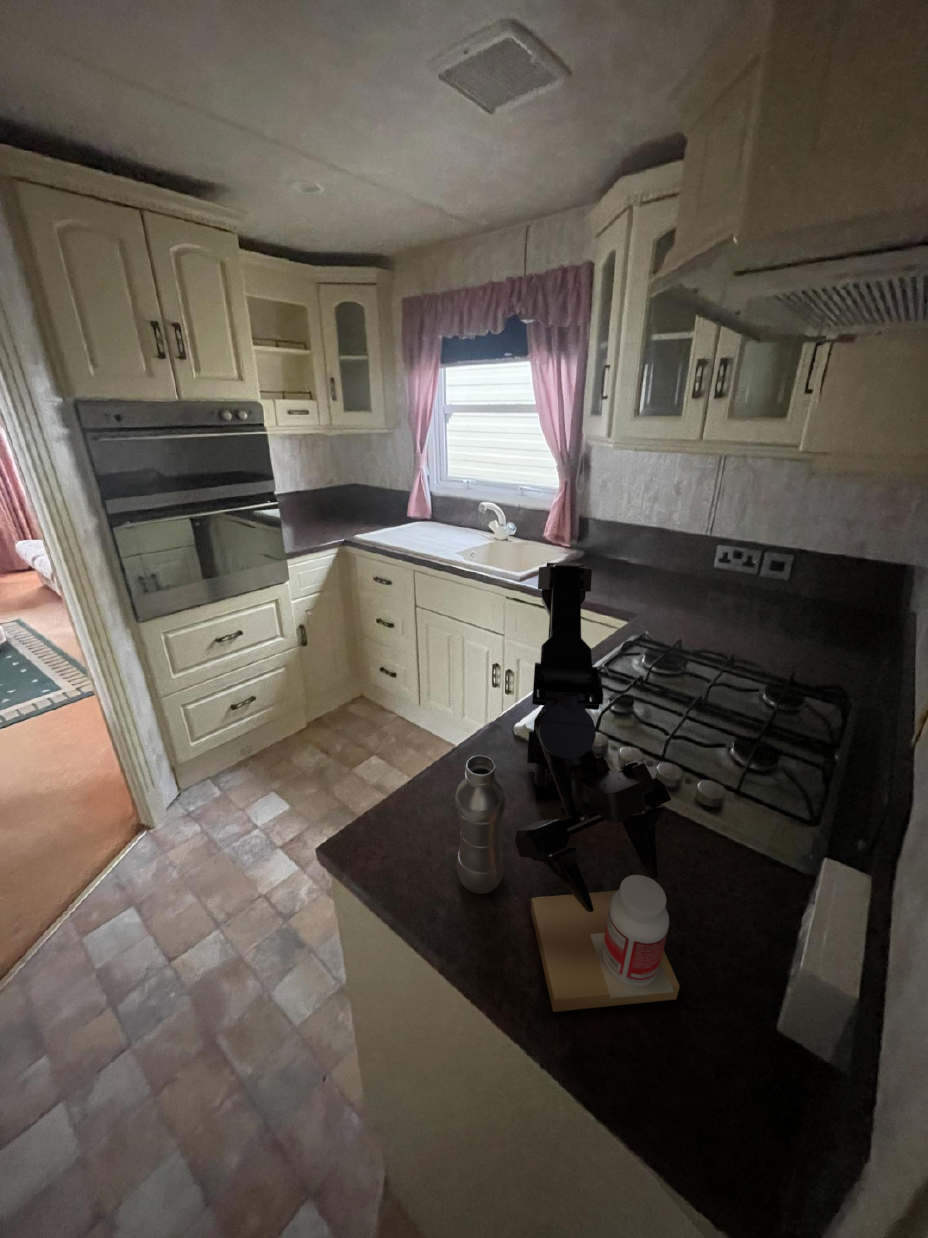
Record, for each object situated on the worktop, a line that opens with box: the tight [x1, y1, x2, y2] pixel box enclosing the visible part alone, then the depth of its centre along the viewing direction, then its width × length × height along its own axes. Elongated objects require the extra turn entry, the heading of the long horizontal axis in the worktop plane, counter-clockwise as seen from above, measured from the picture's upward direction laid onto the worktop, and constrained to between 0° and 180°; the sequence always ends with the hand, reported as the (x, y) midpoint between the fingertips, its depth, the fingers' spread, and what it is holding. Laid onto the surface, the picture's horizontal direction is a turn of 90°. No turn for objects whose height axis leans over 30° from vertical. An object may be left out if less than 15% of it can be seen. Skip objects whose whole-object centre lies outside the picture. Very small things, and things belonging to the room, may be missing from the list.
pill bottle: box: [603, 874, 670, 986], centre depth 56 cm, size 6×6×11 cm
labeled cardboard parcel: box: [530, 890, 681, 1013], centre depth 61 cm, size 12×14×3 cm
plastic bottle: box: [454, 755, 506, 895], centre depth 67 cm, size 6×7×20 cm
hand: (623, 894), depth 57 cm, fingers open, 9 cm apart
